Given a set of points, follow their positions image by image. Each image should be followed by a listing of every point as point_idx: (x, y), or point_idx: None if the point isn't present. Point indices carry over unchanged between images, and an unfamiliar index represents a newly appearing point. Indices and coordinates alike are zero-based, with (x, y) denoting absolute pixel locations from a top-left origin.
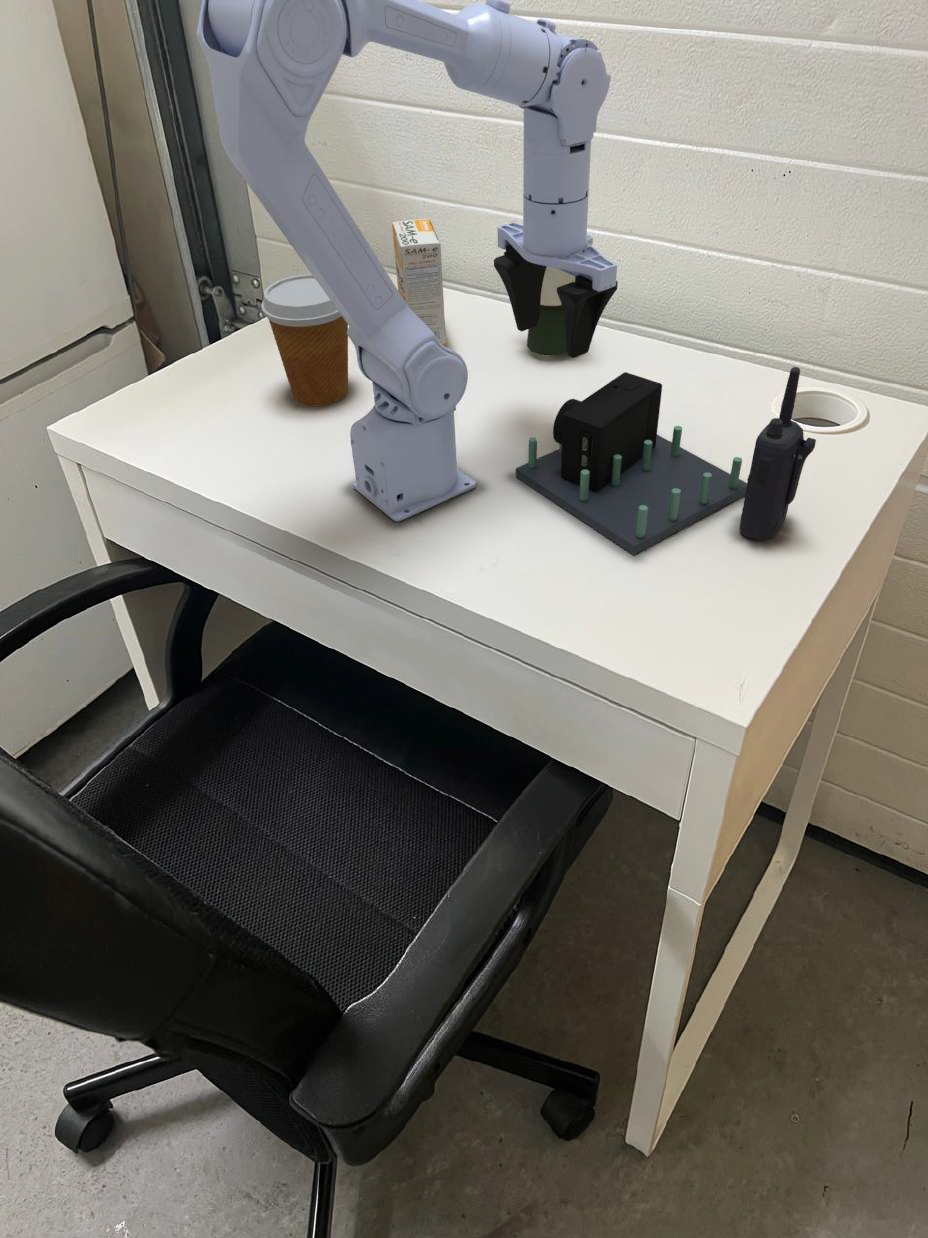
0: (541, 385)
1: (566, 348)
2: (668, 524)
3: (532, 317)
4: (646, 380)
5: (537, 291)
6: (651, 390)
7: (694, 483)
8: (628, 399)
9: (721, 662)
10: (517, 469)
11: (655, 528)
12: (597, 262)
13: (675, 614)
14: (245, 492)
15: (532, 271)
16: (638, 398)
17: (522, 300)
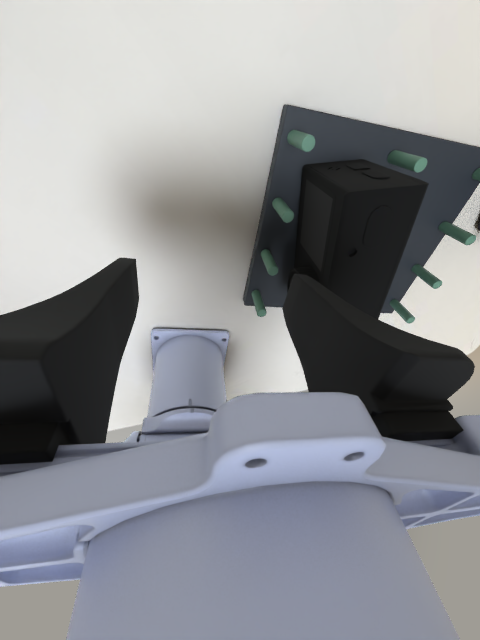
0: (58, 75)
1: (285, 320)
2: (413, 276)
3: (131, 284)
4: (397, 194)
5: (110, 306)
6: (414, 220)
7: (429, 201)
8: (385, 267)
9: (460, 338)
10: (247, 305)
11: (403, 288)
12: (474, 507)
13: (428, 329)
14: (111, 421)
15: (94, 376)
16: (399, 256)
17: (119, 340)
